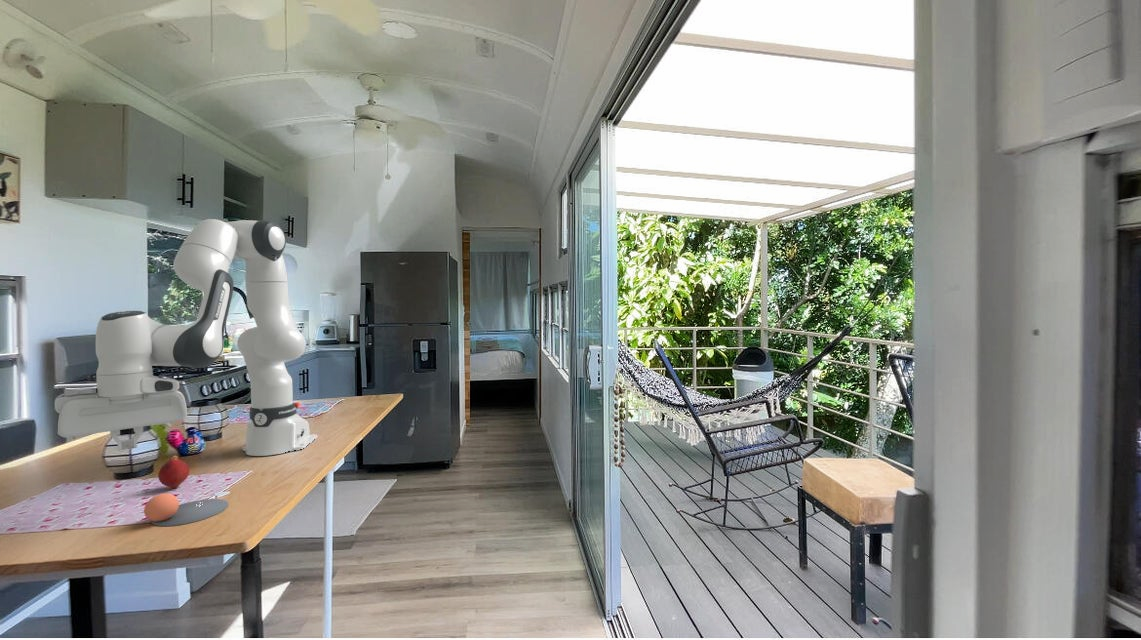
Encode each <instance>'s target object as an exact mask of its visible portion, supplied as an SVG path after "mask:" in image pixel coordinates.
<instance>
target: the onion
mask: <svg viewBox="0 0 1141 640" xmlns="http://www.w3.org/2000/svg"><path fill="white" fill-rule="evenodd" d="M178 458H179V456H177V455H173V456H172V457H171V458H170V459H169V460H168V461H167V462H166V463H164V464H163V465H162V466H161V468H160V469H159V472H158V480H159V482H160V483H161V484H162V485H163V486H166V487H168V488H171V489H177V488H178V487H179V486H180V485H181V484H182V483H183V482H185V481H186V479H188V476H189V475H190V466H189V465H188V464H187V463H186V462H185V461H183V460H181V459H178Z"/></svg>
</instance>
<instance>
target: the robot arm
mask: <svg viewBox="0 0 1141 640" xmlns="http://www.w3.org/2000/svg"><path fill="white" fill-rule="evenodd" d="M285 234H286V233H285V232H284V230H283V228H282V227H281V226H280V225H279V224H278V223H277V222H274V221H270V220H264V219H260V220H252V219H250V220H249V219H248V220H247V219H243V220H241V219H240V220H235V221H226V222H225V221H223V220H221V219H215V218H207V219H204V220H202V221H200V222H198V224H196V225H195V227H193V229H192V230H191V231H190V233H188V235H187V236H186V238H185V239H184V241H183V242H182V244H181V245H180V247H179V250H178V251H177V253H176V256H175V257H174V260H173V270H174V272H175V274H176V276H177V277H178V279H180V280H181V281H182V282H183V283H185V284H186V285H187V286H188V287H191V288H193V289H195V290H198V291H200V292H203V295H202V296H203V297H202V300H201V303H200V307H199V309H198V310H199V311H198V315H197V318H196V320H194V322H192V323H190V324H187V325H185V324H183V325H180V324H179V325H177V324H176V325H171V324H164V323H163V322H162V323H161V322H159V321H156V320H154V319H152V318H151V317H149V314H147V312H146V311H142V310H126V311H125V310H124V311H117V312H116V311H115V312H109V313H107V314H105V315H103V316H101V317H100V319H99V321H98V323H97V327H96V330H95V331H96V332H95V355H96V357H97V361H98V367H97V369H96V372H95V373H96V387H95V388H88V389H86V388H85V389H80V390H68V391H65V392H64V393H60V394H59V395H57V396H56V397H55V399H54V401H53V402H54V406H53V407H54V411H56V413H58V414H59V415H58V423H57V435H58V436H60V437H62V438H65V439H66V438H72V437H78V436H80V437H81V436H86V435H87V436H88V435H93V434H101V433H107V432H109V436H111V438H112V439H113V440H114V441H115V442H116V443H117V451H125V450H131V449H133V450H134V449H137V447H138V440H139V438H140V437H141V435H143V433H144V427H149V426H156V425H165V424H171V423H175V422H176V423H179V422H183V421H184V420H186V419H187V417H188V411H187V410H188V408H187V402H186V398H185V395H184V394H183V393H182V392H181V391H180V390H179V389H180V382H179V380H177V379H174V378H170V377H164V376H159V375H158V376H156V375H154V372H153V367H152V366H155V367H159V366H161V367H185V368H187V367H188V368H193V369H194V368H196V369H204V368H206V367H208V366H211V365H212V364H213V363H215V362H216V361H217V360H218V359H219V358H220V356H221V355H222V354H223V353H222V352H223V350H224V339H225V338H224V336H225V335H224V334H225V328H226V324H227V319H228V316H229V312H230V311H229V310H230V307H231V304H232V299H233V293H234V280H233V277H232V275H231V274H229V269H230V267H231V265H232V262H233V260H243V261H244V262H245V270H244V271H245V272H244V273H245V276H244V278H245V279H244V280H245V292H246V293H245V294H246V305H247V309H248V311H249V313H251V315H252V317H253V319H254V321H255V324H256V326H254V327H251V328H248V329H246V330H244V331H243V332H242V333H241V334H240V335H239V336H238V338H237V340H236V342H237V343H236V344H237V345H236V346H237V349H238V351H239V352H240V354H241V355H242V357H243V359H244V363H245V367H246V369H247V373H248V377H249V381H250V400H251V401H250V403H251V406H250V407H249V411H248V412H249V414H248V415H249V419H250V422H249V423H248V424H247V426H246V434H245V435H246V436H245V437H246V438H245V445H244V446H242V451H243V452H245V454H246V455H248V456H250V457H251V456H252V457H254V456H255V457H267V456H273V455H275V456H276V455H281V454H285V452H286V453H288V451H290V452H295V451H294V450H296V451H301V450H300V449H302V450H304V449H305V448H307V447H308V446H309V445H310V444H311V443H313V442H314V441H315V440H316V439H318V438H319V435H318V434H317V433H310V432H311V431H310V424H309V422H308V420H306V419H305V418H303V417H302V416H300V415H299V414H298V412H297V409H300V408H301V406H302V403H301V402H300V401H297V402H296V401H293V400H294V396H293V395H294V394H293V390H294V389H293V387H294V386H293V378H292V376H291V375H290V373H289V372H288V370H287V368H286V365H285V363H287V362H292V361H294V360H297V359H299V358H300V357H301V356H302V355H303V354H304V353H305V350H306V347H307V341H306V338H305V335H303V334H302V333H301V331H300V330H299V329H298V327H297V324H296V321H295V319H294V317H293V316H294V315H293V313H292V309H291V306H290V295H289V282H288V273H287V268H286V267H287V266H286V263H285V259H284V256H283V253H284V251H285V249H286V243H287V238H286V235H285ZM128 429H129V430H130V429H133V432H134V433H135V434H134V435H133V436H132V437H131V438H130V439H124V440H122V439H121V438H120V437H119V436H120V435H121V430H128ZM314 439H315V440H314ZM313 440H314V441H313ZM312 441H313V442H312ZM309 443H310V444H309ZM308 444H309V445H308ZM307 445H308V446H307ZM306 446H307V447H306ZM303 448H304V449H303Z"/></svg>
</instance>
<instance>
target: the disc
mask: <svg viewBox="0 0 1141 640" xmlns="http://www.w3.org/2000/svg"><path fill="white" fill-rule="evenodd" d="M199 502H201V504H200V503H199ZM202 502H203V503H202ZM196 504H197V505H199V504H200V505H201V506H200V507H199V506H197V507H196ZM202 504H203V505H202ZM228 506H229V502H228V501H227V500H226V499H219V498H210V499H209V498H208V499H200V500H195V501H189V502H185V503H181V504H179V507H178V510H177V512H176V513H175V514H174V515H173V516H172V517H170V518H169V519H167V520H164V521H159V522H155V521H151V523H152V525H154V526H158V527H175V526H182V525H189V524H191V523H196V522H199V521H203V520H206V519H210V518H213V517H214V516H216V515H219V514H220V513H222V512H224V511H225V510H226V509H227V508H228Z"/></svg>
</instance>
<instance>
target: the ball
mask: <svg viewBox="0 0 1141 640" xmlns="http://www.w3.org/2000/svg"><path fill="white" fill-rule="evenodd" d="M179 502H180V501H179V499H178V497H176V496H175V495H174V494H171V493H160V494H158V495H155V496H153V497H151V499H149V500H148V501H147V503H146V504H145V506H144V510H143V513H144V515H145V517H146V518H147V519H148V520H149V521H150V522H152V521H155V522H159V521H164V520H167V519H169V518H170V517H172V516H173V515H174V514H175V513H176V512H177V510H178V507H179V505H180V503H179Z"/></svg>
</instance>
